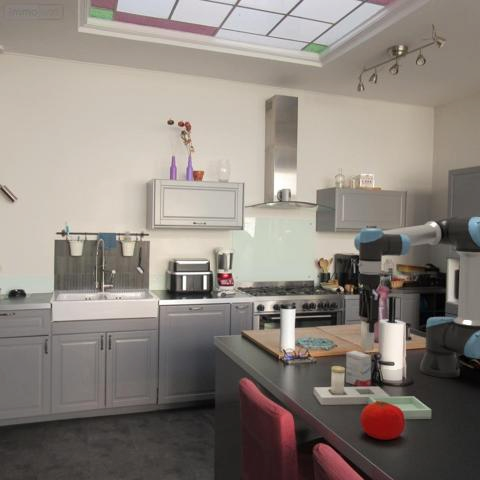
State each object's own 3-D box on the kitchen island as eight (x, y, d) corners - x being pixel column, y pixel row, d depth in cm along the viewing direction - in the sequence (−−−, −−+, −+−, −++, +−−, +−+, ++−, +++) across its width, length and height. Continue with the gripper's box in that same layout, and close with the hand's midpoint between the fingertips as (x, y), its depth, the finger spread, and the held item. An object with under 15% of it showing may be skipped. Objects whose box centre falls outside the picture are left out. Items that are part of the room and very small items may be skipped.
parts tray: (413, 404, 169) (413, 396, 169) (431, 418, 157) (431, 409, 157) (368, 405, 167) (368, 397, 167) (382, 419, 155) (383, 410, 155)
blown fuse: (370, 347, 175) (371, 316, 175) (375, 350, 171) (377, 319, 170) (358, 347, 175) (359, 316, 174) (363, 350, 170) (364, 319, 170)
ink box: (371, 386, 186) (372, 355, 186) (361, 388, 184) (363, 357, 183) (354, 379, 194) (355, 350, 193) (344, 381, 191) (346, 351, 190)
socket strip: (378, 393, 179) (379, 363, 179) (389, 403, 169) (391, 371, 169) (313, 394, 176) (314, 363, 176) (321, 404, 166) (322, 372, 166)
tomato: (410, 444, 138) (412, 408, 138) (366, 445, 137) (367, 408, 137) (395, 427, 150) (396, 394, 149) (354, 428, 149) (355, 394, 148)
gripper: (350, 270, 180) (348, 333, 181) (368, 276, 162) (366, 346, 163) (370, 270, 180) (368, 333, 182) (390, 276, 163) (388, 346, 164)
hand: (367, 339), depth 172 cm, fingers closed on blown fuse, 4 cm apart
